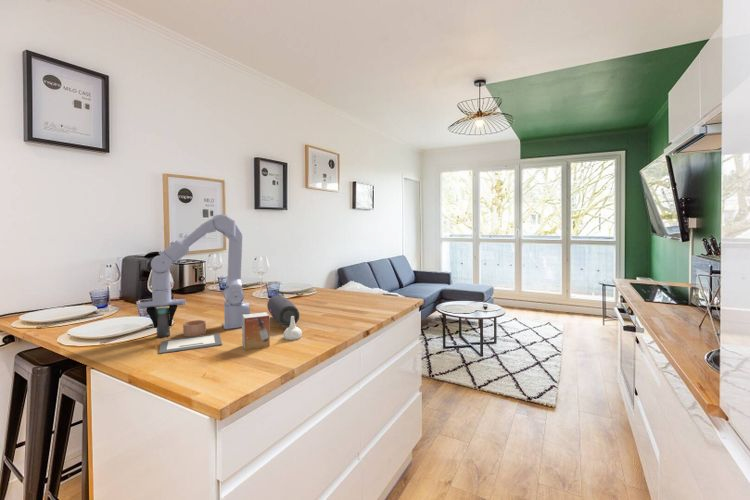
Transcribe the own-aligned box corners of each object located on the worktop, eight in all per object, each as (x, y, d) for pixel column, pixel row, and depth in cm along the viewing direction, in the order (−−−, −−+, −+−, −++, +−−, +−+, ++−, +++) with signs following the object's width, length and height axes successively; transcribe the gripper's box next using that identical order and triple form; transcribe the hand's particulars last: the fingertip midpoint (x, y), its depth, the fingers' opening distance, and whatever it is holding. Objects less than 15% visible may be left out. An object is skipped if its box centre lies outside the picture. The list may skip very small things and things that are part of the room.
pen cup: (205, 329, 133) (205, 319, 132) (206, 334, 126) (205, 324, 126) (183, 332, 129) (183, 321, 129) (183, 337, 123) (182, 326, 123)
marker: (170, 333, 128) (169, 306, 127) (169, 336, 124) (168, 309, 123) (157, 335, 126) (156, 308, 125) (156, 338, 122) (155, 310, 122)
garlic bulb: (284, 337, 126) (281, 315, 125) (301, 334, 127) (299, 313, 127) (284, 342, 120) (281, 320, 119) (302, 339, 121) (300, 317, 121)
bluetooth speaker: (265, 317, 151) (265, 294, 150) (287, 315, 155) (287, 292, 154) (276, 331, 130) (276, 305, 130) (301, 328, 135) (300, 303, 134)
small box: (244, 350, 111) (243, 318, 110) (242, 345, 116) (241, 314, 115) (270, 346, 114) (269, 315, 114) (267, 341, 119) (266, 311, 118)
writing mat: (219, 334, 127) (219, 332, 127) (221, 345, 116) (221, 343, 116) (162, 341, 119) (161, 340, 119) (158, 354, 107) (158, 352, 107)
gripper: (185, 285, 131) (186, 321, 132) (138, 289, 124) (140, 326, 125) (184, 288, 124) (185, 326, 125) (135, 292, 118) (137, 331, 119)
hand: (163, 326), depth 125 cm, fingers closed on marker, 4 cm apart
